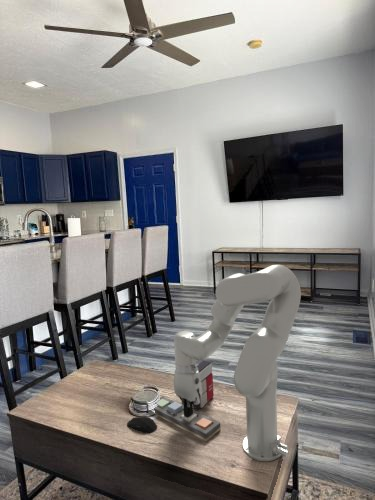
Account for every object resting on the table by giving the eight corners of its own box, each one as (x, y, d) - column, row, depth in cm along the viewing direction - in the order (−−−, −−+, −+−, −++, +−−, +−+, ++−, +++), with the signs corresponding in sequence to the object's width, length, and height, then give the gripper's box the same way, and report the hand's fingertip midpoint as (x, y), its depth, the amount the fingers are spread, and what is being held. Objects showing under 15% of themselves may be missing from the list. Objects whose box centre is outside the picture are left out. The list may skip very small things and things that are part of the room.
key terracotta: (212, 427, 124) (212, 421, 124) (205, 432, 121) (204, 427, 121) (203, 422, 127) (203, 417, 127) (196, 428, 124) (195, 422, 124)
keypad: (220, 429, 124) (220, 422, 124) (206, 441, 118) (205, 433, 118) (162, 402, 144) (162, 396, 143) (148, 411, 138) (147, 405, 138)
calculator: (201, 410, 137) (199, 373, 135) (191, 407, 139) (189, 370, 137) (214, 397, 146) (213, 362, 144) (205, 394, 148) (203, 360, 146)
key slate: (182, 409, 133) (182, 404, 133) (175, 414, 130) (175, 409, 130) (175, 406, 136) (174, 401, 136) (167, 411, 133) (167, 406, 133)
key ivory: (197, 419, 129) (196, 414, 129) (189, 425, 126) (189, 419, 126) (188, 415, 131) (188, 410, 131) (181, 421, 129) (181, 415, 128)
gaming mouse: (127, 418, 135) (126, 408, 134) (160, 427, 128) (159, 416, 128) (116, 427, 129) (115, 417, 129) (150, 437, 123) (150, 426, 122)
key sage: (169, 406, 138) (169, 401, 138) (162, 411, 135) (162, 406, 135) (162, 403, 141) (162, 398, 141) (155, 407, 138) (154, 403, 138)
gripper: (209, 368, 124) (211, 417, 126) (178, 357, 134) (180, 403, 136) (195, 376, 119) (197, 428, 121) (163, 365, 129) (166, 412, 131)
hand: (188, 415), depth 129 cm, fingers closed
